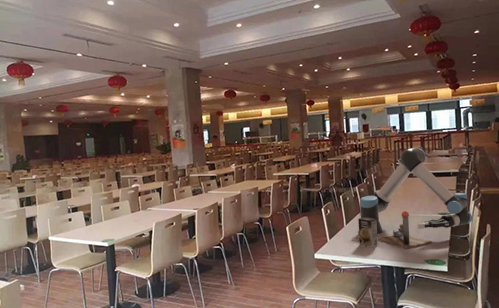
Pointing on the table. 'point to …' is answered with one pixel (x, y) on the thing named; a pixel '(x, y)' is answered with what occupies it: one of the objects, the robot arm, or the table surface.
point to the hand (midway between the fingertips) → (419, 226)
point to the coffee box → (368, 232)
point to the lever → (405, 235)
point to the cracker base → (397, 242)
